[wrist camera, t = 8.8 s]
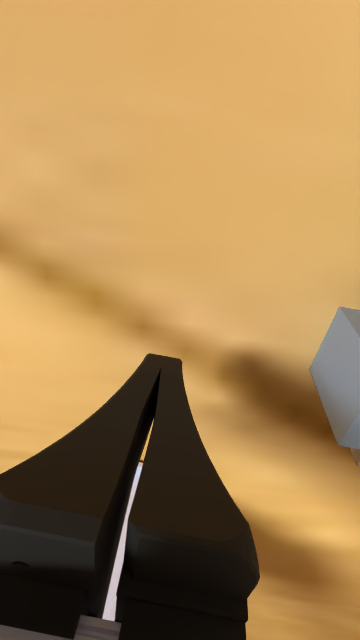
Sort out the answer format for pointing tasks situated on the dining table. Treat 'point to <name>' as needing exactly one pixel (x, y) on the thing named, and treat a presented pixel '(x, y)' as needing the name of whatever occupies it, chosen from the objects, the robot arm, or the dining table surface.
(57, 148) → the dining table surface
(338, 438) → the light blue block
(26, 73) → the dining table surface
